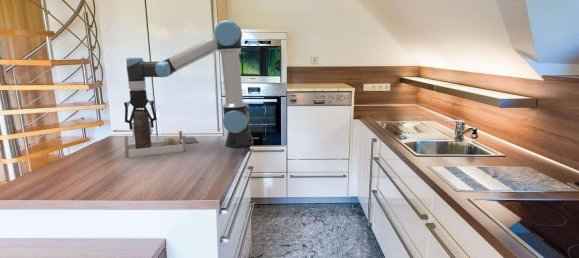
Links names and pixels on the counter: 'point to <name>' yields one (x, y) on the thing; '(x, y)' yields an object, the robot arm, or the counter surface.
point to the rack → (154, 148)
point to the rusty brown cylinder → (141, 129)
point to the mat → (190, 140)
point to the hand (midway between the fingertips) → (142, 134)
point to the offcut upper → (171, 141)
